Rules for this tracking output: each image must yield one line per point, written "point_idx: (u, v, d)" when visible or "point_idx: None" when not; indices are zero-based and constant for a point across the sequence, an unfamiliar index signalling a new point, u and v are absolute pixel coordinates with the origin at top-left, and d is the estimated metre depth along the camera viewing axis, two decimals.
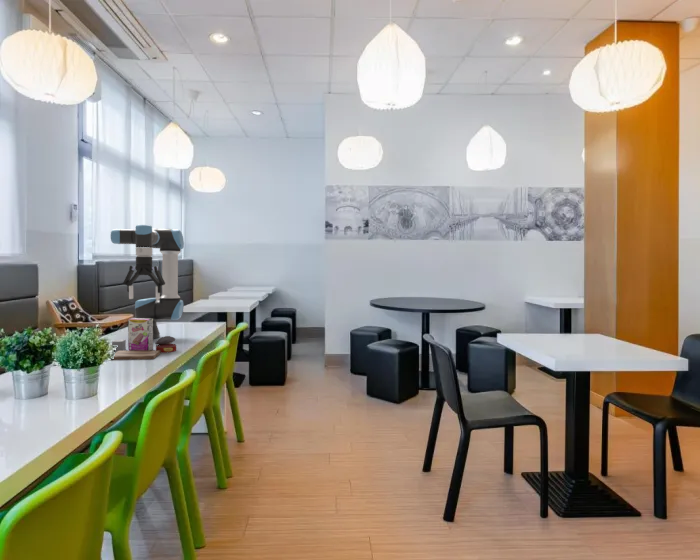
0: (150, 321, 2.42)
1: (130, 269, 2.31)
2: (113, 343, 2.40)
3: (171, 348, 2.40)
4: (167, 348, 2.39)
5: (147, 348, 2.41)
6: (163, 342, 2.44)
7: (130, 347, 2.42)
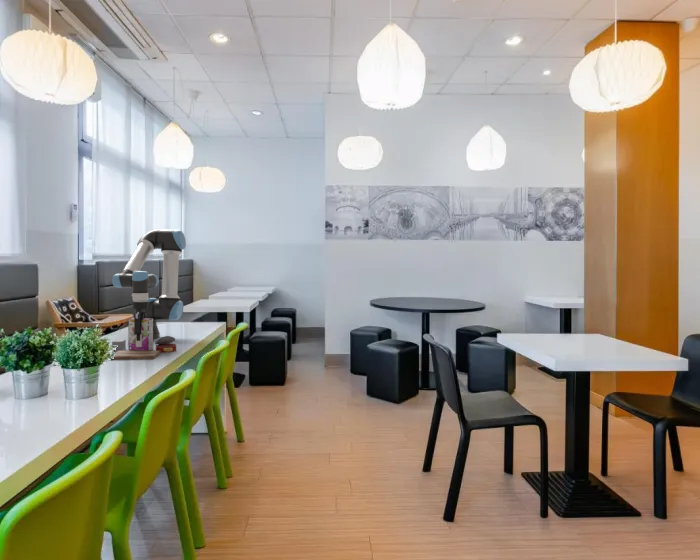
0: (150, 321, 2.42)
1: None
2: (113, 343, 2.40)
3: (171, 348, 2.40)
4: (167, 348, 2.39)
5: (147, 348, 2.41)
6: (163, 342, 2.44)
7: (130, 347, 2.41)
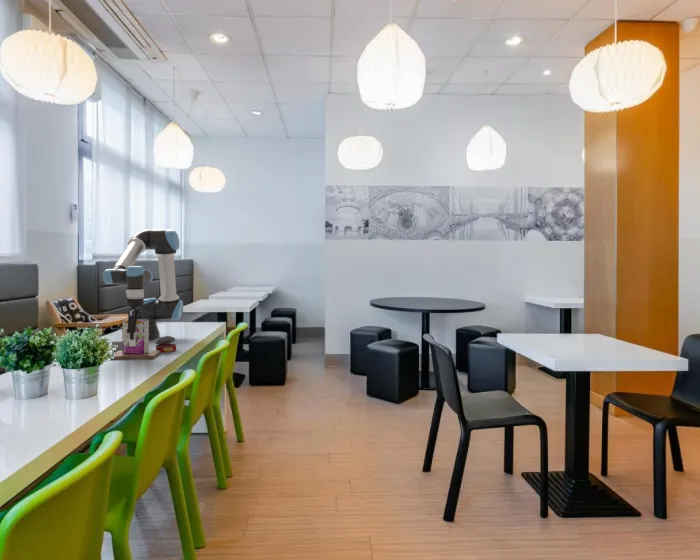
0: (146, 322, 2.27)
1: None
2: (113, 343, 2.40)
3: (171, 348, 2.40)
4: (167, 348, 2.39)
5: (142, 351, 2.26)
6: (163, 342, 2.44)
7: (124, 350, 2.27)
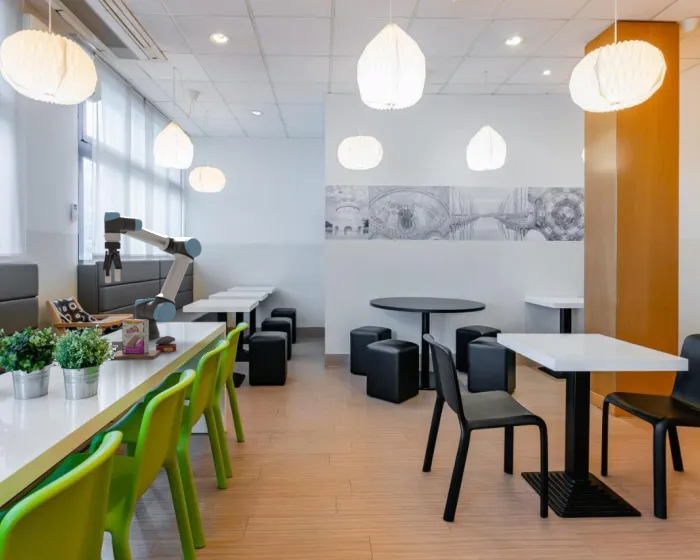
0: (146, 322, 2.27)
1: None
2: (113, 343, 2.40)
3: (171, 348, 2.40)
4: (167, 348, 2.39)
5: (142, 351, 2.26)
6: (163, 342, 2.44)
7: (124, 350, 2.27)
